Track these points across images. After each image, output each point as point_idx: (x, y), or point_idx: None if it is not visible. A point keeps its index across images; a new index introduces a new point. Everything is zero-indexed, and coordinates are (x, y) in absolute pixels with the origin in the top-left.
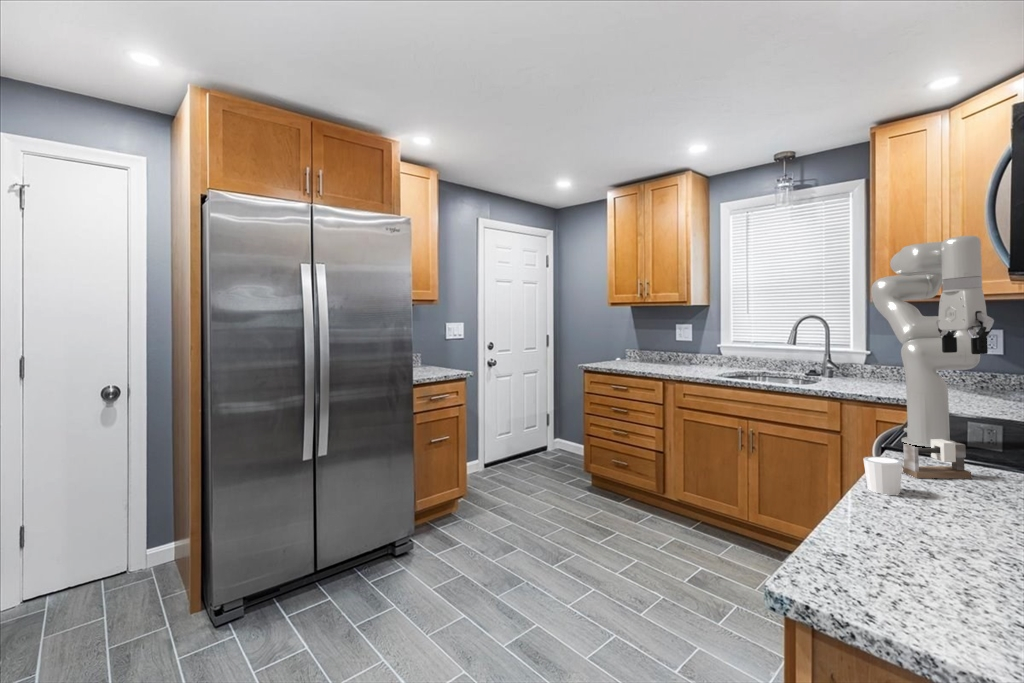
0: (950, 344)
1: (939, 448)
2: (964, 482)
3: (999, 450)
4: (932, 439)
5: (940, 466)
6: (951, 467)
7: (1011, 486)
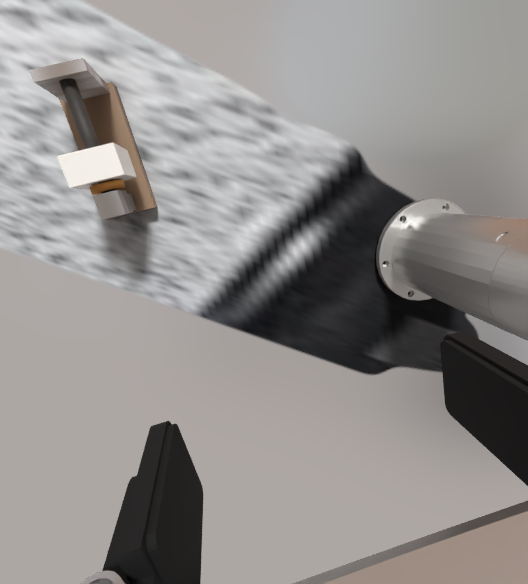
0: (489, 411)
1: None
2: (70, 192)
3: (377, 356)
4: (110, 146)
5: (143, 175)
6: (139, 195)
7: (70, 266)
